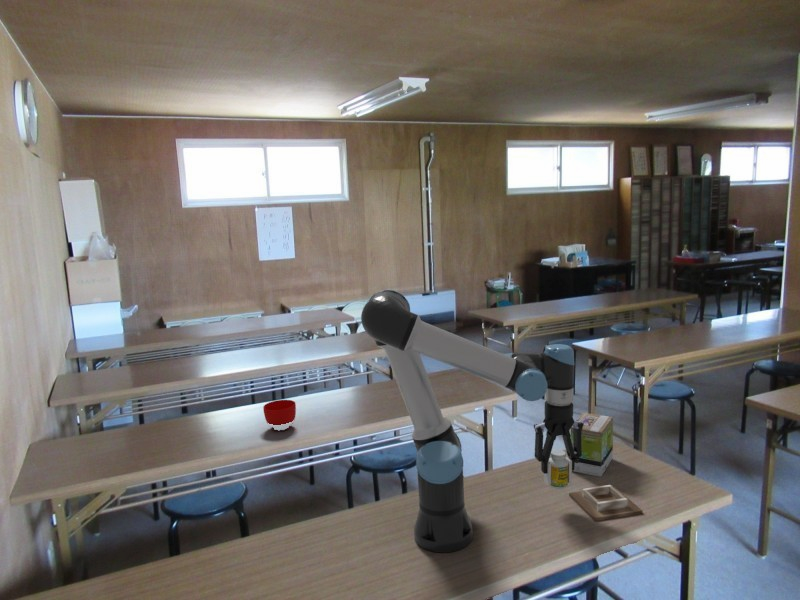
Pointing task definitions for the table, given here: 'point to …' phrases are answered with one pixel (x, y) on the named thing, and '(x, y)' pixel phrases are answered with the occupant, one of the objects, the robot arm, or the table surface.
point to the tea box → (595, 444)
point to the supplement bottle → (559, 469)
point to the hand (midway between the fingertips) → (557, 482)
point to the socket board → (604, 502)
